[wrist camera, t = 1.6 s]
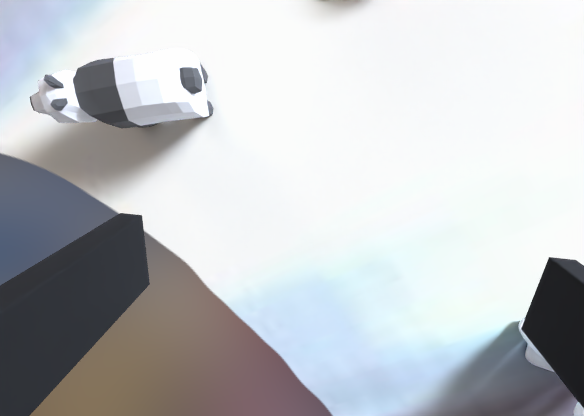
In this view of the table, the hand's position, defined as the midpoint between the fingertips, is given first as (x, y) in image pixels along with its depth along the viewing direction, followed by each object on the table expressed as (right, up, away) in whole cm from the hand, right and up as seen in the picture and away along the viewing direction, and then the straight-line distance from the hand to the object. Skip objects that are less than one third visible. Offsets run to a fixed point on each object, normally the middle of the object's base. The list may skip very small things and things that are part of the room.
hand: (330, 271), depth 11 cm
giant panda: (-15, +13, +23) cm, 30 cm away
